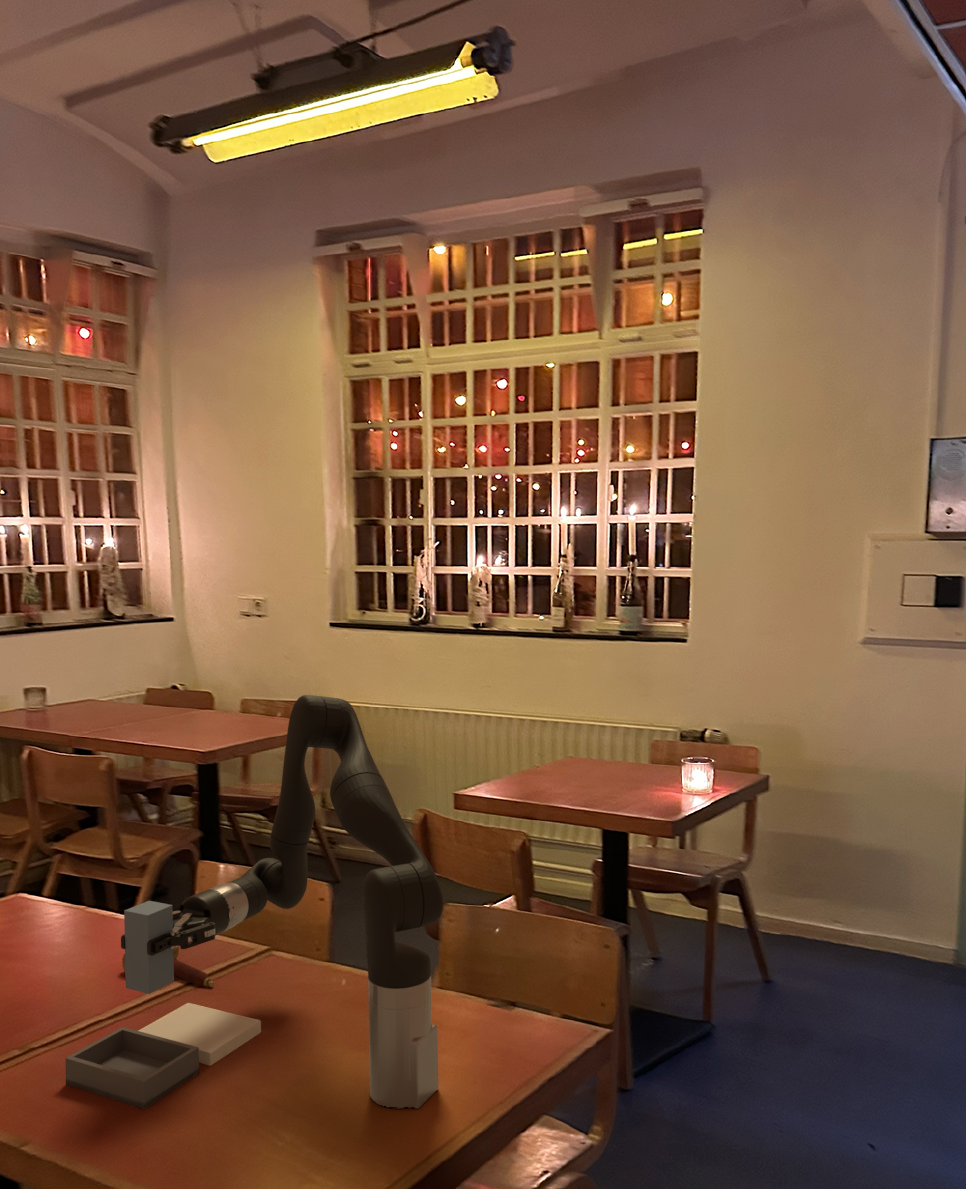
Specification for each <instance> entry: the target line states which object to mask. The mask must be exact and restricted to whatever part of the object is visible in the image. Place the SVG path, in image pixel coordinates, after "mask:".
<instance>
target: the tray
mask: <svg viewBox="0 0 966 1189" xmlns="http://www.w3.org/2000/svg"><path fill="white" fill-rule="evenodd" d="M64 1061H65V1062H64V1063H65V1085H67V1086H70V1087H72V1088H76V1089H79V1090H82V1091H85V1092H88V1093H92V1094H95V1095H99V1096H101V1097H103V1098H108V1099H110V1100H114V1101H116V1102H119V1103H123V1104H126V1105H129V1106H132V1107H136V1108H139V1109H141V1110H146V1109H147V1108H149V1107H150V1106H152V1105H154V1104H155V1103H157V1102H158V1101H160V1100H161V1099H163V1098H165V1096H168V1095H169V1094H170V1093H171V1092H173V1091H175V1090H176V1089H178V1088H179V1087H181V1086H183V1085H184V1084H185V1083H186V1082H187V1083H188V1082H189V1081H190V1080H191V1079H193V1078H194V1077H196V1076H197V1075H199V1074H200V1063H199V1047H195V1046H192V1045H188V1044H184V1043H181V1042H177V1041H173V1040H170V1039H166V1038H162V1037H158V1036H155V1035H151V1034H147V1033H144V1032H140V1031H138V1030H137V1029H136V1030H135V1029H133V1028H129V1027H128V1028H127V1027H125V1026H121V1027H120V1028H118V1029H116V1030H114V1031H113V1032H111V1033H109V1034H107V1035H105V1036H103V1037H102V1038H100V1039H98V1040H96V1041H94V1042H92V1043H91V1044H89V1045H86V1046H85V1047H83V1048H81V1049H79V1050H78V1051H76V1052H74V1053H73V1054H70V1055H68V1056H67V1057H65V1060H64Z"/></svg>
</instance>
